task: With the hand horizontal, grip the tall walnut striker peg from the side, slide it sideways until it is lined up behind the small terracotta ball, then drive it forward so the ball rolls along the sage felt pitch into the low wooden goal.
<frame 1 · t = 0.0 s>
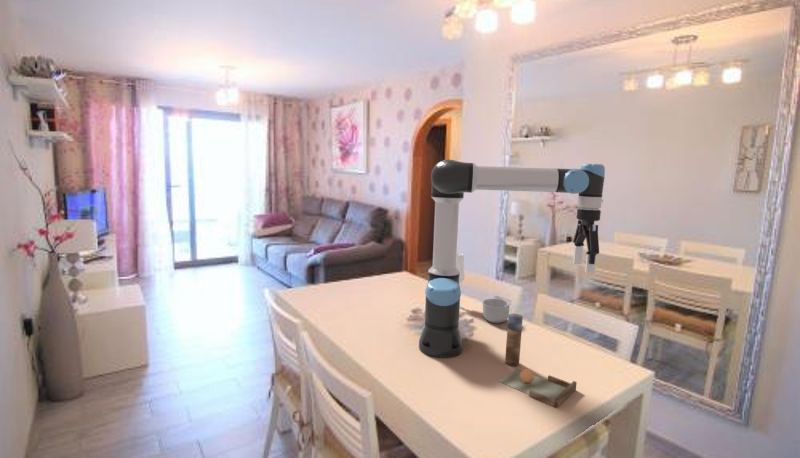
hand: (583, 268, 148), 28 cm above the table, tool pointing down, fingers open, 13 cm apart
teacup: (494, 319, 174), on the table
ball: (526, 375, 123), point 2 cm above the table, touching goal
striker: (512, 363, 135), on the table
goal: (552, 393, 117), on the table
champagne flute: (455, 306, 189), on the table
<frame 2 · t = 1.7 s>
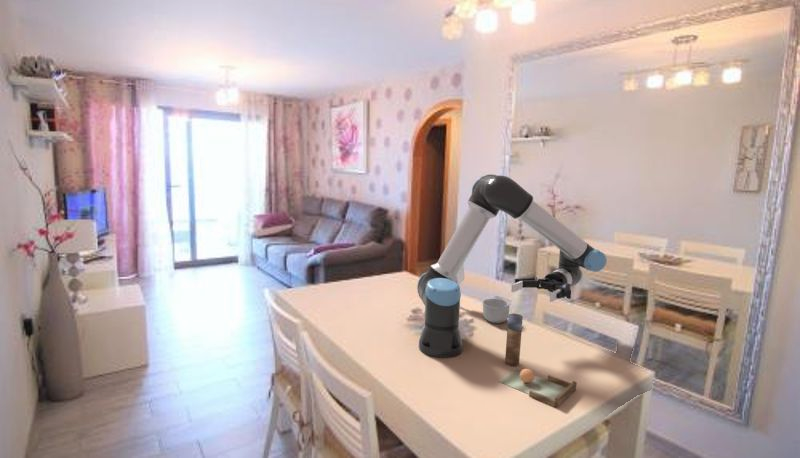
hand: (531, 292, 138), 22 cm above the table, tool horizontal, fingers open, 13 cm apart
nothing on the table moved.
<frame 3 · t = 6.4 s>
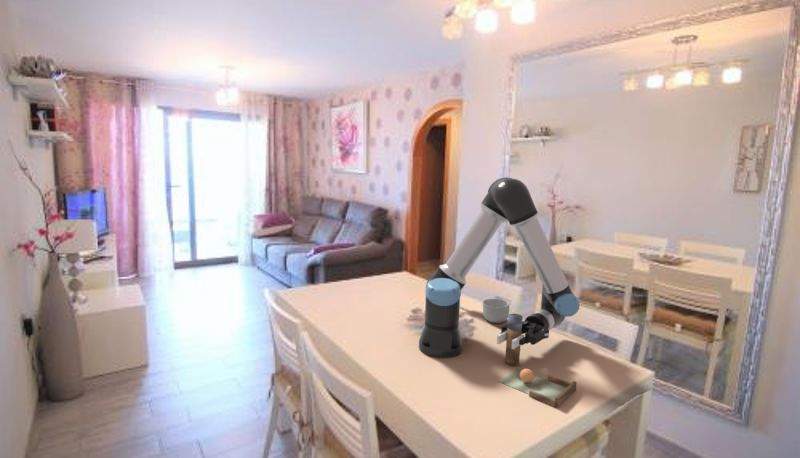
hand: (505, 342, 130), 9 cm above the table, tool horizontal, fingers closed on striker, 4 cm apart
striker: (512, 363, 135), on the table, touching gripper
everything else where it was.
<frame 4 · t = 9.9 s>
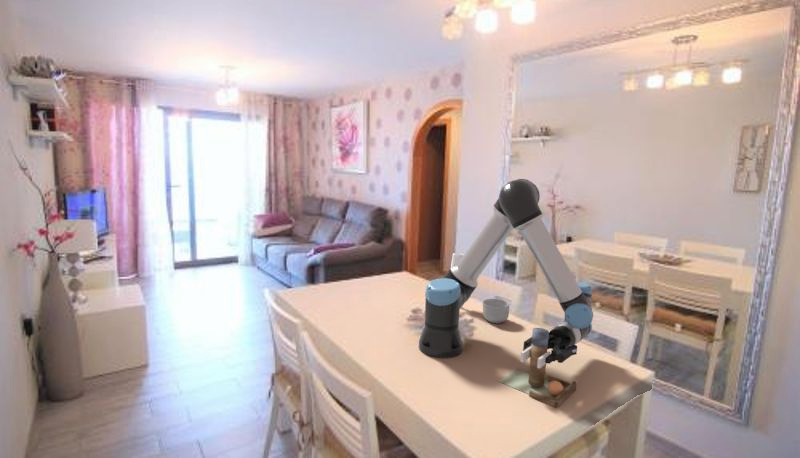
hand: (530, 360, 116), 10 cm above the table, tool horizontal, fingers closed on striker, 4 cm apart
ball: (555, 388, 116), point 2 cm above the table, tilted 105°, touching goal
striker: (536, 383, 121), point 1 cm above the table, touching gripper
everything else where it was.
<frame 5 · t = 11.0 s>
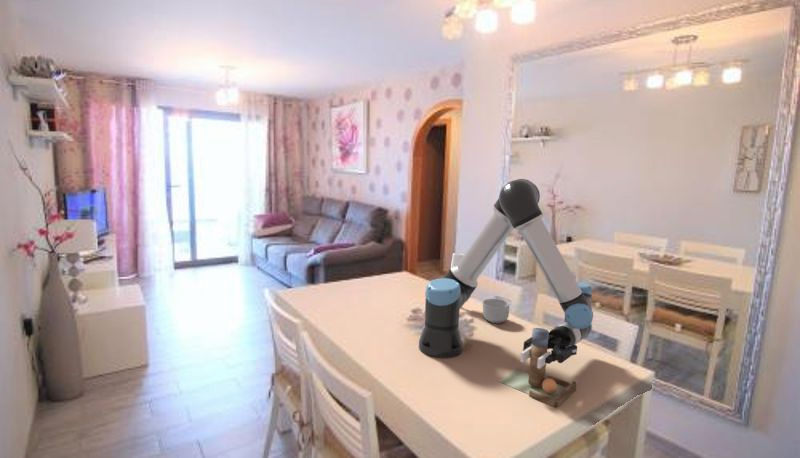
hand: (530, 360, 116), 10 cm above the table, tool horizontal, fingers closed on striker, 4 cm apart
ball: (549, 385, 117), point 2 cm above the table, tilted 154°, touching goal
striker: (536, 383, 121), point 1 cm above the table, touching gripper
everything else where it was.
when the fingers open (9 cm above the table, at t = 12.4 s): striker stays where it is, resting on goal.
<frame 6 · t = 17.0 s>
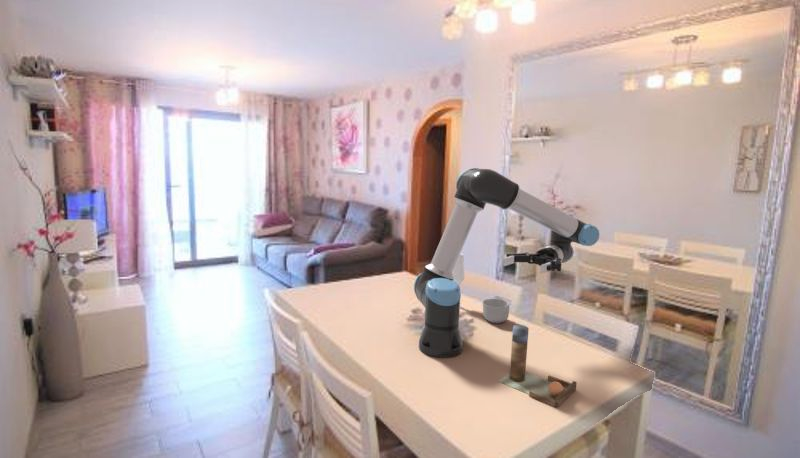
hand: (521, 265, 140), 30 cm above the table, tool horizontal, fingers open, 13 cm apart
ball: (555, 389, 116), point 2 cm above the table, tilted 96°, touching goal
striker: (517, 378, 125), resting on goal
everything else where it was.
at the end: ball 1.6 cm from the goal (horizontally); ball point 2.1 cm above the table; striker tilted 0° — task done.
